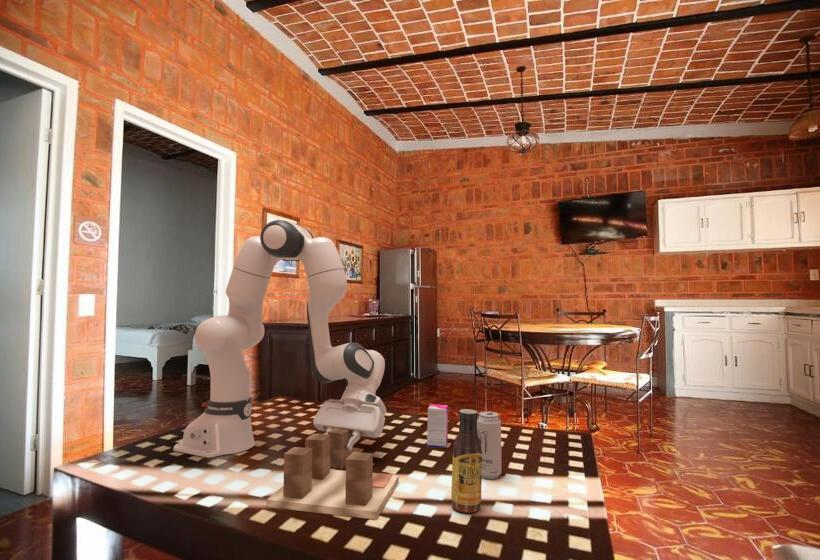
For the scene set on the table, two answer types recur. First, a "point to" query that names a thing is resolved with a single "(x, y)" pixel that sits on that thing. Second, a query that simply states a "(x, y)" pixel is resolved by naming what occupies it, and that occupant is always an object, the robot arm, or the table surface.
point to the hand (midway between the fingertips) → (337, 447)
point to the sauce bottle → (467, 464)
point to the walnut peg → (339, 447)
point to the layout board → (331, 482)
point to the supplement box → (437, 426)
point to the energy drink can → (490, 443)
